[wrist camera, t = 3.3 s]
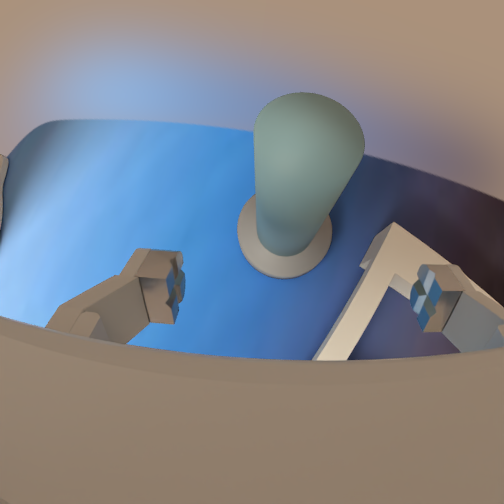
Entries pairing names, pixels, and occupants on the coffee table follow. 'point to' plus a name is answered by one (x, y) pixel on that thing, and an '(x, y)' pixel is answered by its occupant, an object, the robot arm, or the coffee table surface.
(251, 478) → the robot arm
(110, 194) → the coffee table surface
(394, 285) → the keyhole track
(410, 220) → the coffee table surface
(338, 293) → the coffee table surface
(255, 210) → the round-topped green peg
